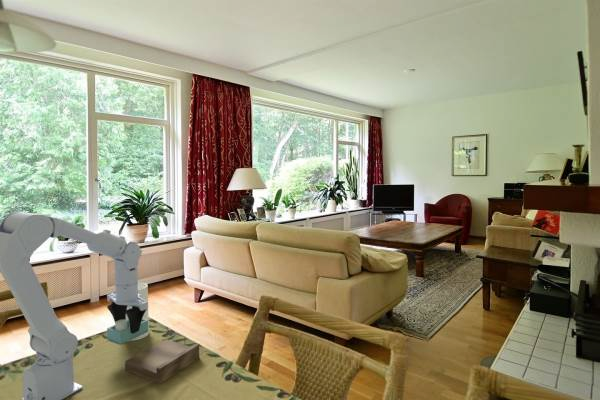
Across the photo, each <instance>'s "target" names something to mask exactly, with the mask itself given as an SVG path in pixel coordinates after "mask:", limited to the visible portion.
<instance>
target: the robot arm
mask: <svg viewBox="0 0 600 400" xmlns="http://www.w3.org/2000/svg"><path fill="white" fill-rule="evenodd" d="M58 237H64V238H67V239H71V240H73V241H77V242H80V243H83V244H85V245H86V246H87V249H88V250H89V251H90V252H92V253H97V254H99V255H101V256H102V255H103V256H106V257H108V258H111V259H112V260H114V289H115V292H112V293H111V292H110V293H108V294H107V295H106V297H107V299H106V300H107V301H106V302H111V303H110V304H108V305H107V306H106V307H107V308H106V309H107V310H108V311H109V312H110V314H111V317H112V318H113V321H114V323H115V322H116V321H118V320H123V319H125V320H126V314H127V316H128V319H129V323H130V330H131V333H132V334H134V333H136V332H138V331H139V328H140V324H141V321H142V318H143V315H144V313H145V312H146V310H147V309H148V310H149V301H148V302H147V301H145V300H143V299H142V298H141V294H138V283H139V280H138V279H139V278H138V277H139V276H138V273H139V272H138V266H139V260H140V258H141V256H142V254H143V250H142V249H141V247H140V245H139V244H138V243H137V242H136V241H132V240H126V237H125V236H122V235H120V236H118V235H116V234H112V233H111V230H109V229H98V230H94V231H91V230H88V229H86V228H83V227H81V226H79V225H77V224H74V223H72V222H69V221H67V220H64V219H62V218H58V217H53V216H47V215H45V214H42V213H31V212H30V213H29V212H26V211H21V210H16V211H12V212H10V213H8V214H7V215H5V217H4V218H3V219H2V221H0V274H1V275H2V278H3V280H4V281H5V283H6V285H7V287H8V289H9V290H10V292H11V294H12V296H13V298H14V300H15V302H16V303H17V306H18V307H19V309H20V311H21V312H22V314H23V315H22V316H24V318H25V320H26V322H27V324H28V327H29V328H28V329H27V333H28V334H29V338H30V339H29V347H30V348H31V350H32V351H34V352H35V354H36V355H35V362H33V364H32V365H30V366H28V367H27V368H25V369H23V371H22V375H21V380H22V394H23V397H22V398H21V400H64V399H65V398H67V397H69V396H71V395H72V394H74V393H76V392H78V391H81V390H82V389H83V385H82V384H79V383H77V382H75V378H74V377H75V376H74V375H75V374H74V372H75V371H74V356H73V355H74V353H75V352H76V350H77V348H78V346H79V340H78V338H77V335H75V333H72V332H70V331H69V329H68V328H67V326H66V325H65V324H64V323H63V322H62V321H61V319H59V318H58V317H57V314H56V313H55V310H54V309H53V308H54V307H53V306H52V305H51V303H50V301H49V298H48V296H47V294H46V293H45V291H44V288H43V286H42V284H41V282H40V280H39V278H38V276H37V274H36V272H35V271H34V268H33V266H32V265H31V263H30V259H31V257H32V255H33V254H34V252H35V251H37V250H38V248H40V247H41V246H42V245H43V244H44V243H45V242H46V241H47V240H49V239H50V238H52V239H56V238H58ZM127 306H131V307H132V308H131V309H129V310H127Z"/></svg>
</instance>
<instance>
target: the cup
mask: <svg viewBox="0 0 600 400" xmlns="http://www.w3.org/2000/svg"><path fill="white" fill-rule="evenodd" d="M148 286H149V285H148V283H146V282H138V294H141V298H142V299H143V300H145V301H147V302H148V303H149V289H148ZM131 308H132V307H131V306H127V310H129V309H131ZM143 319H146V320H148V332H147V333H145V334H142V335H140V336H138V337H136V338H134V339H132V340H130V341H129V342H132V341H139V340H141V339H142V340H143V338H146V337H147V336H149V333H150V325H149V324H150V322H149V321H150V320H149V308H148V309H147V310H146V312H145V313H144V315H143ZM126 320H128V316H127V314H126Z"/></svg>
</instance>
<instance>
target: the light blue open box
mask: <svg viewBox="0 0 600 400" xmlns="http://www.w3.org/2000/svg"><path fill="white" fill-rule="evenodd" d="M106 332H107V337H106V338H107V341H108V342H111V343H113V344H117V345H119V346H122V345H124V344H125V343H128V342H131V341H130V340H132V339H134V338H136V337H138V336H140V335H142V334H145V333H147V332H148V320H146V319H143V318H142V321H141V324H140V328H139V331H138V332H136V333H134V334H132V333H131V330H130V323H129V319H128V320H125V319H123V320H118V321H116V322H115V321H114V325H111V326H109V327H107V328H106Z"/></svg>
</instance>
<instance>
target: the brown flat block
mask: <svg viewBox="0 0 600 400" xmlns="http://www.w3.org/2000/svg"><path fill="white" fill-rule="evenodd" d="M199 358H200V344H199V343H194V344H193V345H191V346H190V345H186V344H183V343H180V342H177V341H174V340H170V339H164V340H162V341H160V342H158V343H156V344H154V345H153V346H151V347H149V348H147V349H145V350H143V351H141V352H140V353H138V354H135V355H134V356H132V357H130V358H128V359H126V360H125V361H124V368H125V372H129V373H131V374H134V375H136V376H139V377H142V378H144V379H147V380H149V381H152V382H154V383H156V384H161V385H162V384H163V383H164V382H166V380H168V379H170V378H172V376H175V375H176V374H177V373H178V372H180V371H182V370H183V369H185V368H186V367H188V366H190V365H191V364H193V363H194V362H195V361H197V360H198V359H199Z"/></svg>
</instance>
